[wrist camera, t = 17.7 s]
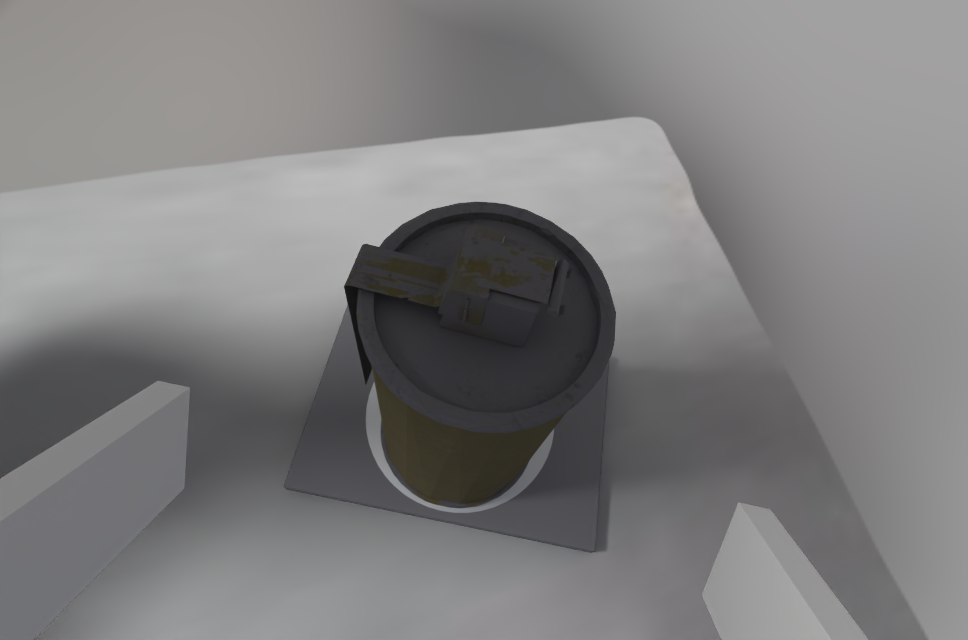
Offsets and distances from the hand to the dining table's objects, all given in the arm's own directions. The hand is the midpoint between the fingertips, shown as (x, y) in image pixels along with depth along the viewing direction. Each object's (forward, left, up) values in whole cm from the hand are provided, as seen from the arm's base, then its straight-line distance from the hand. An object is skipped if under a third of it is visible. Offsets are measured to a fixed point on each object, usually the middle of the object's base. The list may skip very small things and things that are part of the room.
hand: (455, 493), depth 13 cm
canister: (0, +9, -23) cm, 24 cm away
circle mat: (0, +10, -24) cm, 26 cm away
